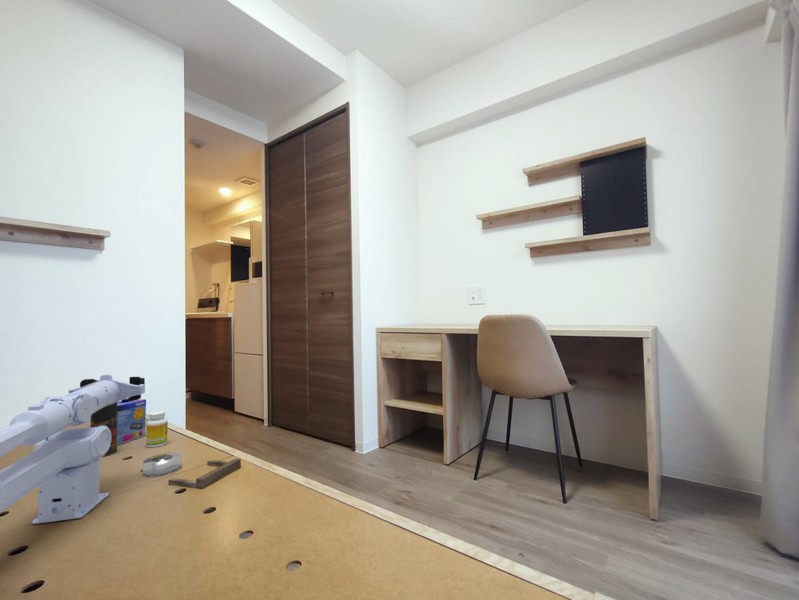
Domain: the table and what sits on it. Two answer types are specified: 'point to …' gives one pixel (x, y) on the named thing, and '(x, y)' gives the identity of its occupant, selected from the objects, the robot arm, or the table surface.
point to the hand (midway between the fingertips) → (126, 382)
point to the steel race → (161, 464)
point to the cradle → (209, 474)
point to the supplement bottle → (156, 429)
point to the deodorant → (107, 424)
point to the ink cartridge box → (130, 420)
